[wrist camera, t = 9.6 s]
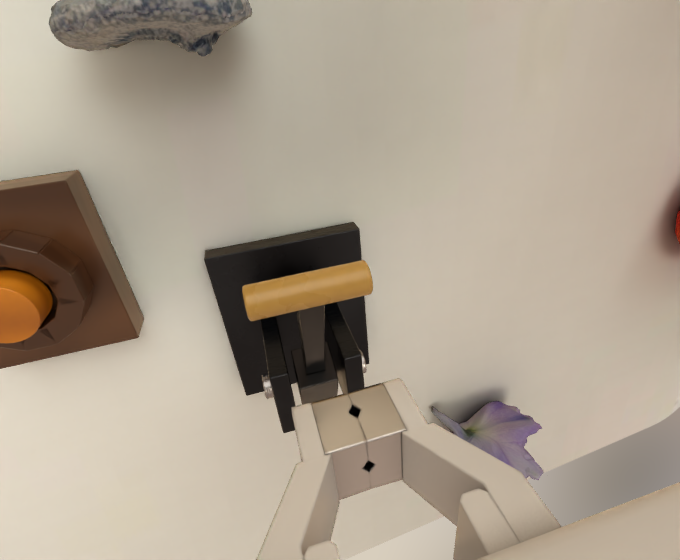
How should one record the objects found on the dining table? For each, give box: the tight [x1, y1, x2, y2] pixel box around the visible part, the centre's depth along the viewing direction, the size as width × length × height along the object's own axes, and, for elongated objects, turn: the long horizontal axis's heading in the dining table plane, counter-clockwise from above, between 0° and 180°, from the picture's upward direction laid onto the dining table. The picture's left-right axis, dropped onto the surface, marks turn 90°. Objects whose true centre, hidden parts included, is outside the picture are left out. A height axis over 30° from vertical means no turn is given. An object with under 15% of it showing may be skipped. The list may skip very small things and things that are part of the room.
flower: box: [431, 401, 543, 480], centre depth 38 cm, size 9×9×10 cm
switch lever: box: [242, 260, 373, 405], centre depth 19 cm, size 11×5×2 cm, turn 5°
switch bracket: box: [204, 222, 369, 433], centre depth 25 cm, size 12×10×9 cm
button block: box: [0, 170, 144, 369], centre depth 21 cm, size 10×8×4 cm
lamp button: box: [0, 270, 53, 343], centre depth 19 cm, size 3×3×2 cm
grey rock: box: [49, 0, 252, 56], centre depth 17 cm, size 8×4×5 cm, turn 97°
